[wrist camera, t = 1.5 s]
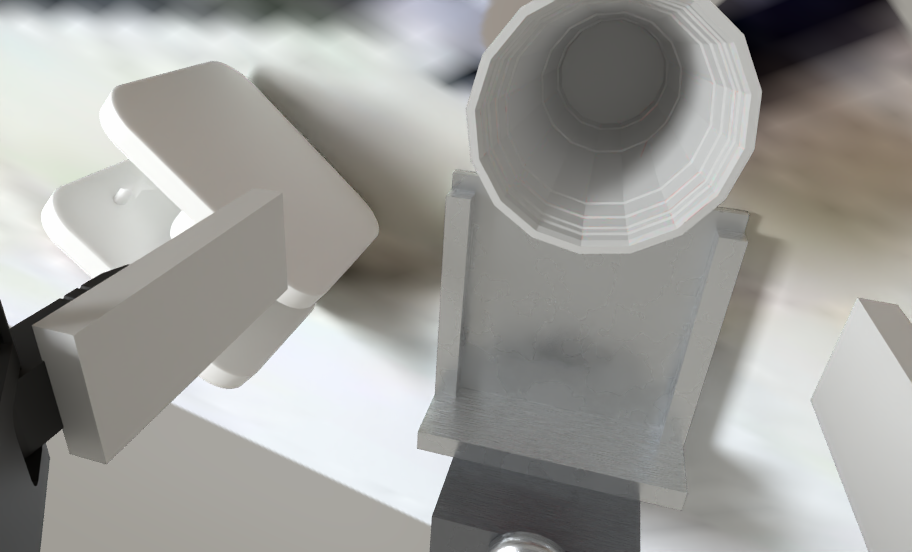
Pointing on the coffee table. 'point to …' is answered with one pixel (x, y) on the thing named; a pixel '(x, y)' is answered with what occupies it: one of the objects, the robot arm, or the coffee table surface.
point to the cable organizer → (211, 194)
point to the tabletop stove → (567, 378)
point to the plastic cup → (613, 119)
